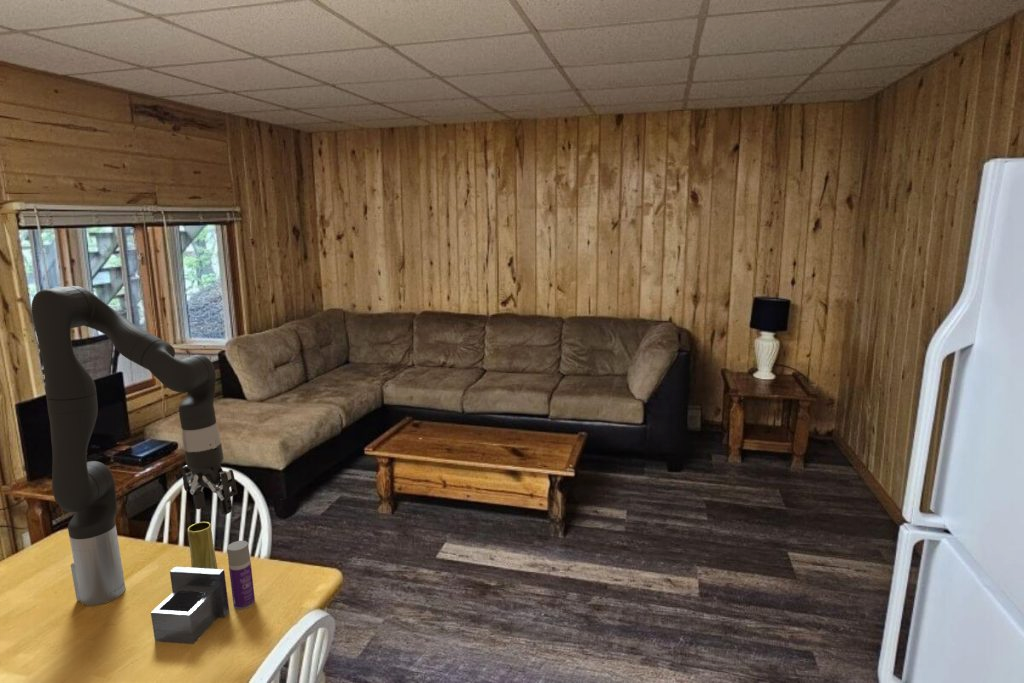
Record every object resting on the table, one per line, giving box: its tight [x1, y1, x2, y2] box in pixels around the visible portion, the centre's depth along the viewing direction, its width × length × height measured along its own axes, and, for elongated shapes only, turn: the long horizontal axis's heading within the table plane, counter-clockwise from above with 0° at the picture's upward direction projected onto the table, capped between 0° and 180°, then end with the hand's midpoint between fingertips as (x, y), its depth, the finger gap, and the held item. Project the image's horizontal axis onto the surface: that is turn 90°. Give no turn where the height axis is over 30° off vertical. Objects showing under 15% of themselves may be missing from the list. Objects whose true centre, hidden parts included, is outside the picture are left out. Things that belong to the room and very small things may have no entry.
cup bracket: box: [150, 566, 230, 645], centre depth 137 cm, size 12×11×11 cm
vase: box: [187, 521, 219, 569], centre depth 155 cm, size 6×6×14 cm
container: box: [226, 540, 256, 610], centre depth 144 cm, size 5×5×15 cm
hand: (213, 510), depth 142 cm, fingers open, 8 cm apart
